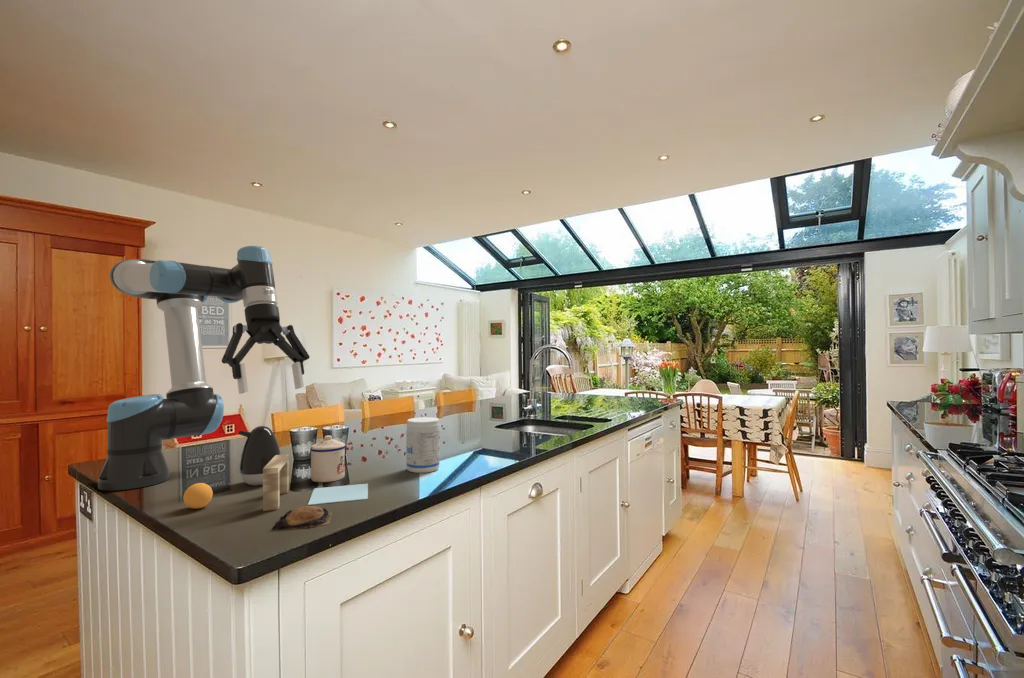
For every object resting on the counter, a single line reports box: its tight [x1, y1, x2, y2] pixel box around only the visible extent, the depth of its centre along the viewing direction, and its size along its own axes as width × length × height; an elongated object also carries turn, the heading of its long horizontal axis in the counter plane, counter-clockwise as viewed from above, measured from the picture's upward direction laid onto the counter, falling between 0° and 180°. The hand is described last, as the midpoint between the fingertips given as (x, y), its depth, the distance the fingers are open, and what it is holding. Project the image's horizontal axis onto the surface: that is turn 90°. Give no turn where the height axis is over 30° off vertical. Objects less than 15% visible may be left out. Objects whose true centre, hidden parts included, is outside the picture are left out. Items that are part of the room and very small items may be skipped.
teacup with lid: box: [309, 434, 346, 483], centre depth 129 cm, size 12×9×12 cm
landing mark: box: [307, 483, 369, 506], centre depth 113 cm, size 13×13×1 cm
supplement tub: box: [406, 416, 440, 474], centre depth 136 cm, size 10×10×15 cm
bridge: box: [262, 453, 290, 512], centre depth 109 cm, size 3×14×9 cm, turn 17°
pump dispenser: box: [238, 425, 282, 487], centre depth 124 cm, size 10×10×15 cm
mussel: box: [272, 505, 333, 531], centre depth 95 cm, size 11×8×4 cm
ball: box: [183, 482, 214, 510], centre depth 104 cm, size 6×6×6 cm
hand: (272, 390), depth 112 cm, fingers open, 13 cm apart
